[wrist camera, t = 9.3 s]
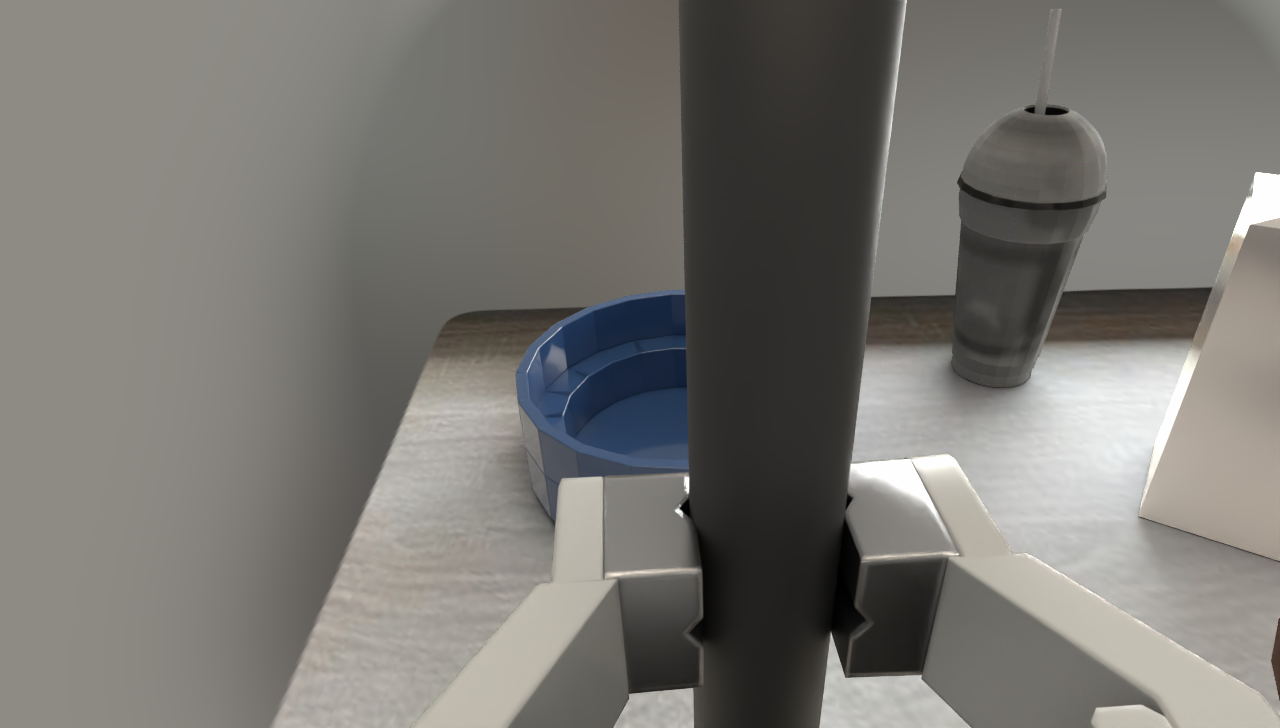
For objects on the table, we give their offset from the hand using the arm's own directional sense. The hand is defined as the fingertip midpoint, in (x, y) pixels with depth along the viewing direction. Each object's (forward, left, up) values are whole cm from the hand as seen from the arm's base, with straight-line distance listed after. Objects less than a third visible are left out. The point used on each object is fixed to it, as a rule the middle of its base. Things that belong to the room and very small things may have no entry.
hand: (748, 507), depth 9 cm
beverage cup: (+14, +36, -20) cm, 43 cm away
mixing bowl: (-4, +26, -20) cm, 33 cm away
